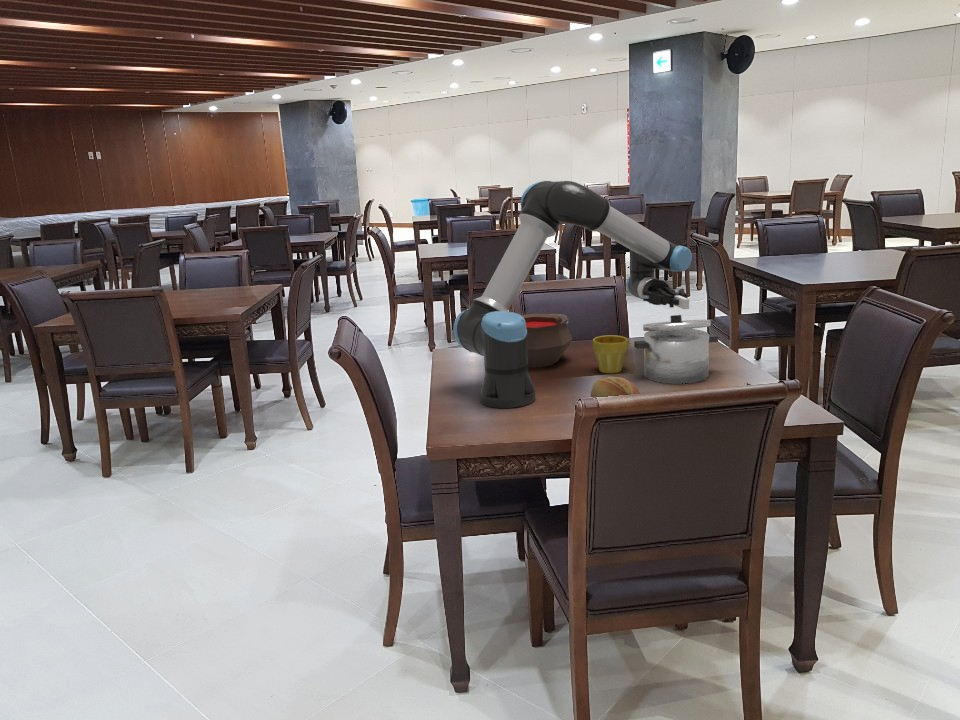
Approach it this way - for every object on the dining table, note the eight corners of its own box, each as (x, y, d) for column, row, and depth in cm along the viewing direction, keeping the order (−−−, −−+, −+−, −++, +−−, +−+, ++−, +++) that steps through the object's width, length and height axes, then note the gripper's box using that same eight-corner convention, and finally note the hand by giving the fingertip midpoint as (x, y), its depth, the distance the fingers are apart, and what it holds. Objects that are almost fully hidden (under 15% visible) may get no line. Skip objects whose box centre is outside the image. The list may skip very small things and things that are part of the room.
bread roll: (625, 419, 179) (625, 388, 177) (580, 406, 190) (580, 376, 188) (650, 409, 184) (650, 379, 182) (605, 397, 196) (605, 368, 194)
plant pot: (627, 375, 214) (627, 343, 212) (592, 375, 216) (591, 343, 214) (628, 365, 224) (628, 334, 221) (594, 365, 226) (593, 335, 223)
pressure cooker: (647, 387, 201) (647, 345, 198) (622, 368, 221) (622, 330, 218) (729, 379, 204) (730, 337, 201) (697, 361, 224) (698, 323, 221)
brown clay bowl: (483, 363, 236) (480, 314, 232) (535, 348, 251) (533, 302, 247) (536, 376, 218) (534, 323, 214) (588, 359, 234) (587, 309, 229)
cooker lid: (657, 331, 197) (656, 318, 197) (634, 330, 216) (633, 318, 216) (722, 325, 200) (721, 312, 200) (693, 324, 218) (692, 312, 218)
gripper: (674, 301, 224) (708, 315, 201) (633, 304, 222) (663, 319, 200) (674, 277, 222) (709, 288, 199) (633, 280, 220) (664, 292, 198)
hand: (686, 304), depth 200 cm, fingers closed
